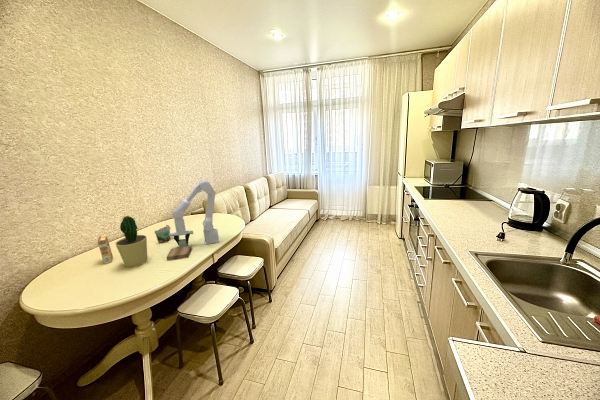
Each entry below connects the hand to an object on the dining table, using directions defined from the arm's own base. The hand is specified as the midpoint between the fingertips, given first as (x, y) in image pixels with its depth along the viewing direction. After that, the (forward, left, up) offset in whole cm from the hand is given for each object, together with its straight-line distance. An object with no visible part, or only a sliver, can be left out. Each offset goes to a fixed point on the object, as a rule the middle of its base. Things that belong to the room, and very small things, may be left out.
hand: (183, 245), depth 163 cm
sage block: (0, 0, -1) cm, 1 cm away
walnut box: (0, +12, -2) cm, 12 cm away
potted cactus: (+24, +14, -2) cm, 28 cm away
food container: (+15, -17, -2) cm, 23 cm away
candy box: (+43, +5, -2) cm, 43 cm away
